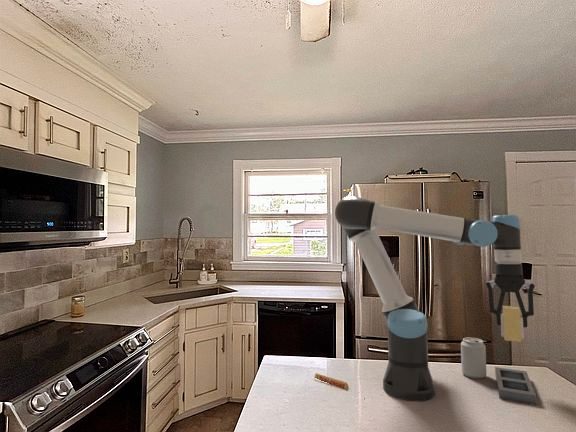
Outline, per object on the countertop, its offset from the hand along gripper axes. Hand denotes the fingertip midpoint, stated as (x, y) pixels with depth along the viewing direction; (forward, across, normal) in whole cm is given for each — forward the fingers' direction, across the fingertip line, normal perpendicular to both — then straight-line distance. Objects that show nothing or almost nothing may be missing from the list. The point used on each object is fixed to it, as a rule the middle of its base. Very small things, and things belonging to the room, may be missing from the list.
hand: (512, 336), depth 115 cm
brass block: (+1, 0, 0) cm, 1 cm away
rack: (+15, 0, -2) cm, 16 cm away
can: (+15, -12, +3) cm, 20 cm away
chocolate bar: (+15, -52, -27) cm, 60 cm away
